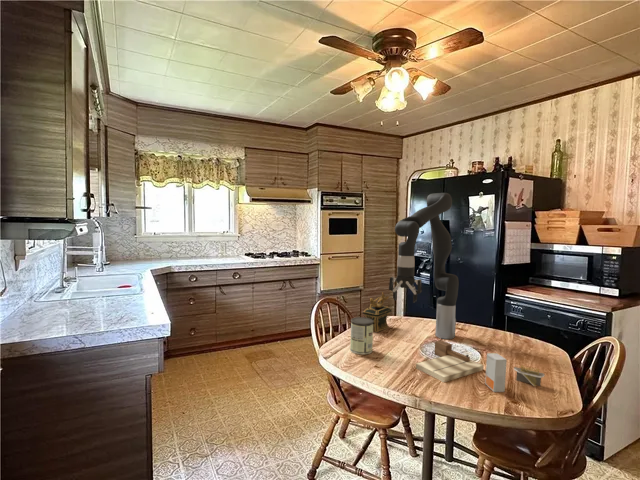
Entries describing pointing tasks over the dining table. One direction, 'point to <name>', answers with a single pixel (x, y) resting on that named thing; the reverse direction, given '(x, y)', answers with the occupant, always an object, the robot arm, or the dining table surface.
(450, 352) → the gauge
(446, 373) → the board
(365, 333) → the coffee can
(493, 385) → the skincare box
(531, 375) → the grey storage bin
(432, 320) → the dining table surface
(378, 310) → the decorative box
